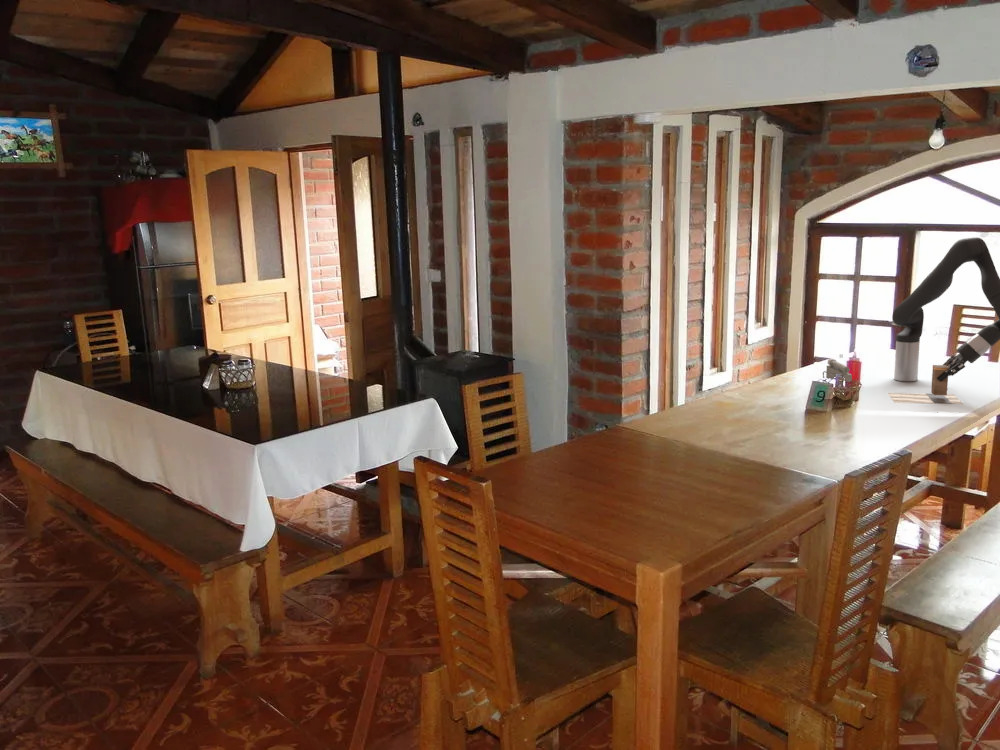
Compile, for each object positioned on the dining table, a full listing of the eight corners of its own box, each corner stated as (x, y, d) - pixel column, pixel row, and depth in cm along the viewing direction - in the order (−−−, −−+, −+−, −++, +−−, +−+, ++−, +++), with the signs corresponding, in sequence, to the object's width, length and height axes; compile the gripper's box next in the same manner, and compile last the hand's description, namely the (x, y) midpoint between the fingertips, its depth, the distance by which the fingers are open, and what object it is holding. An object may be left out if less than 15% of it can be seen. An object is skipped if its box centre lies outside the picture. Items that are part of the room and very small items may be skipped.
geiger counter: (855, 367, 329) (831, 355, 353) (839, 367, 329) (817, 356, 353) (853, 400, 332) (830, 387, 356) (837, 401, 332) (815, 387, 356)
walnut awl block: (931, 392, 325) (932, 365, 323) (944, 392, 324) (946, 365, 322) (933, 395, 321) (935, 367, 319) (946, 395, 319) (948, 367, 317)
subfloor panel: (887, 396, 335) (887, 392, 335) (953, 397, 328) (953, 393, 328) (894, 406, 320) (894, 402, 320) (963, 407, 313) (963, 403, 313)
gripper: (962, 338, 322) (926, 368, 328) (971, 344, 309) (933, 375, 315) (976, 351, 322) (940, 381, 328) (986, 358, 308) (948, 389, 314)
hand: (937, 378), depth 321 cm, fingers closed on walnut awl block, 4 cm apart
